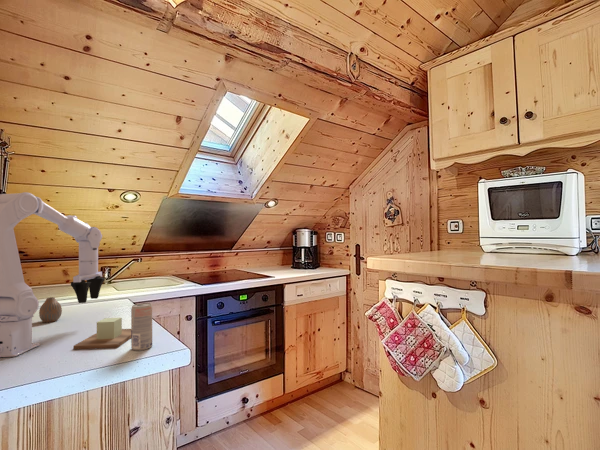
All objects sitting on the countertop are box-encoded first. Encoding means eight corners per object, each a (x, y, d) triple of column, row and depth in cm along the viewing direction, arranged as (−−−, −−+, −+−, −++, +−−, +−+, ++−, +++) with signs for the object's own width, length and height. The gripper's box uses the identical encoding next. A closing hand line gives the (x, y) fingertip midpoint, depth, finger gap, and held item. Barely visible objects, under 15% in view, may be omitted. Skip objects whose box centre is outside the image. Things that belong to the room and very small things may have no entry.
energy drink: (146, 343, 99) (146, 302, 99) (156, 347, 95) (155, 304, 96) (128, 348, 95) (127, 305, 95) (136, 352, 91) (136, 307, 92)
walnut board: (117, 347, 95) (117, 344, 95) (73, 349, 94) (73, 345, 95) (140, 331, 111) (140, 328, 111) (102, 332, 110) (102, 329, 110)
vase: (65, 320, 128) (65, 297, 129) (44, 324, 123) (44, 300, 123) (56, 318, 132) (56, 295, 132) (35, 322, 126) (35, 298, 126)
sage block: (114, 338, 101) (114, 321, 101) (96, 339, 100) (96, 322, 100) (121, 333, 106) (121, 317, 106) (105, 334, 105) (105, 318, 105)
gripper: (89, 262, 110) (89, 304, 110) (110, 259, 125) (110, 296, 125) (66, 263, 110) (66, 305, 110) (90, 259, 124) (90, 296, 124)
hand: (88, 300), depth 117 cm, fingers open, 7 cm apart
